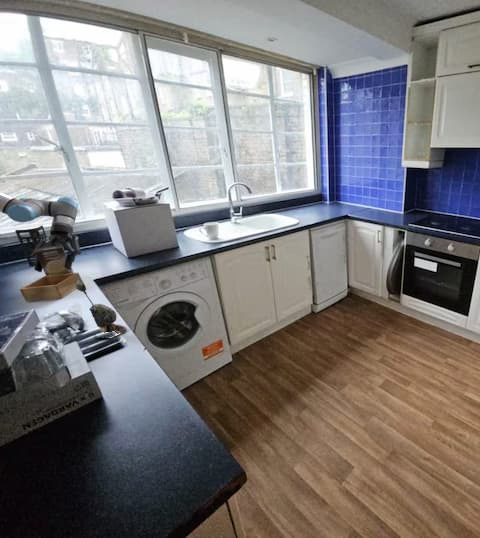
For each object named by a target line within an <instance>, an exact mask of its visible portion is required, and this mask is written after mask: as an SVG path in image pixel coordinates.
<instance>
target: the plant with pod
mask: <svg viewBox="0 0 480 538" xmlns="http://www.w3.org/2000/svg"><path fill="white" fill-rule="evenodd" d="M76 290H78V291H79V292H83V294H84V295H85V296H86V298H87V299H88V301H89V302H90V303H91V307H89V311H90V313H91V316H92V318H93V320H94V322H95V325H96V326H97V327H98V328H99V330H100V333H101V332H104V333H105V332H112V331H115V332H116V333H117V334H119V333H122V334H121V335H123V334H125V333H126V332H127V331H128V328H127V327H126V326H125V325H122V324H115V322H117V313H116V311H115V310H114V309H113V308H111V307H109V306H107V305H105V304H102V303H95V304H94V303H93V302H92V300H91V299H90V297H89V296H88V293H87V292H86V290H87V287H86V285H85V282H84V281H83V280H82V278H81V279H78V280H77V281H76Z"/></svg>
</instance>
